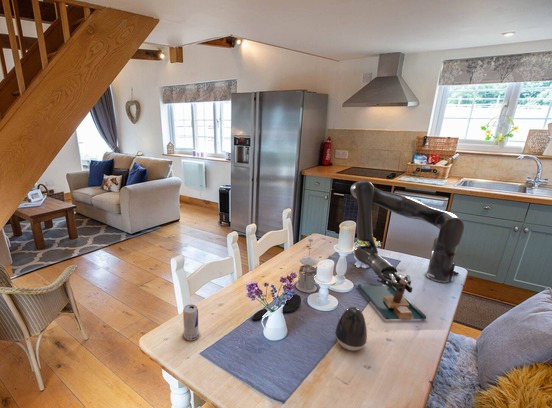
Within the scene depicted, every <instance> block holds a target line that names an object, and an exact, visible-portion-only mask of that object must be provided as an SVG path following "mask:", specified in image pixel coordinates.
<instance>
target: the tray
mask: <svg viewBox="0 0 552 408" xmlns="http://www.w3.org/2000/svg"><path fill="white" fill-rule="evenodd" d="M357 287H358V288H359V290H360V291H361V292H362V293H363V294H364V295H365V296H366V298H367V299H368V300H369V301H370V303H371V304H372V305H373V306H374V308H375V309H376V310H377V311H378V313H380V314H381V316H382V317H383V318H384V320H400V319H399V318H398V317H397V316H396V314H395V313H394V312H393V311H394V310H388V309H387V308H386V306H385V305H384V303H383V301H384V300H383V298H384V296H394V295H395V292H396V288H393V287H392V286H391V287H388V286H386V285H371V286H370V285H366V286H365V285H362V284H361V283H358V284H357ZM403 297H404V298H405V300H406V301H407V302H408V304H409V305H410V306H409V308H408V309H409V310H410V311H411V312H412V316H411V319H410V320H426V319H427V316H426V315H425V314H424V312H422V310H420V309H419V307H417V306H416V305H415V304H414V303H413V302H412V301H411V300H410V299H409V298H408V297H407V296H405V294H403Z"/></svg>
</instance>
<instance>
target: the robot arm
mask: <svg viewBox="0 0 552 408" xmlns="http://www.w3.org/2000/svg"><path fill="white" fill-rule="evenodd" d="M350 194H351V195H352V197H354V199H356V201H357V219H356V239H357V240H358V241H360V242H365V243H366V245H357V246H356V247H355V248H354V250H353V255H354V257H355V259H356V260H357V261H359V262H361V263H362V264H365V265H366V266H368V267H369V268H370V269H371V270H372V271H373V272H374V274H376V275H377V279H376V281H377V282H379V283H380V284H382V285H383V286H388V287H391V286H392V287H393V288H396V289H397V290H398V291H399V292H400V293H402V292H403V287H402V286H401V285H400V284H399V281H400V280H404V281H406V282H407V286H406V289H405V291H407V293H412V292H413V287H412V286H411V284H412V280H411V277H410V275H409V274H406V275H402V274H401V273H399V271H398V270H397V268H396V267H395V266H394V265H393V264H392V263H390V262H389V261H388V260H386V259H385V258H384V257H382V256H381V254H379V252H378V247H377V245H376V242H375V239H374V230H373V204H374V205H377V206H379V207H381V208H383V209H385V210H387V211H389V212H392V213H394V214H396V215H399V216H402V217H404V218H407V219H412V220H418V221H423V222H426V223H427V224H430V225H432V226H434V227H436V228H437V229H439V232H438V236H437V237H435V238H434V239H433V243H432V248H431V253H430V256H429V261H428V265H427V271H426V274H425V276H426V277H427V278H428V279H429V280H432V281H434V282H436V283H442V284H443V283H449V282H452V279H453V276H457V275H459V272H458V271H457V272H456V271H455V267H456V263H455V259H456V258H455V257H456V254H457V250H458V246H459V245H460V244H461V241H462V238H463V235H464V232H465V222H464V220H462V219H461V218H460V217H459V216H457V215H456V214H454V213H452V212H448V211H444V210H440V209H437V208H434V207H430V206H428V205H427V204H425V203H422V202H420V201H418V200H416V199H413V198H411V197H409V196H405V195H402V194H398V193H396V192H391V191H385V190H381V189H379V188H377V187H375V186H374V185H373V184H372V182H371V181H369V180H358V181H356V182H354V183H353V184H352V185H351V187H350Z"/></svg>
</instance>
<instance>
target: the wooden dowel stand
mask: <svg viewBox="0 0 552 408" xmlns="http://www.w3.org/2000/svg"><path fill="white" fill-rule="evenodd" d="M399 284H400V285H401V286H402V287H403V292H402V293H400V292H399V291H398V290H397V289H396V292H395V295H394V296H384V298H383V300H384V301H383V303H384V305H385V306H386V308H387V309H388V310H394V306H406V307H407V308H409V306H410V305H409V304H408V302H407V301H406V300H405V298H404V297H403V295H405V291H406V286H407V282H406V281H404V280H400V281H399Z"/></svg>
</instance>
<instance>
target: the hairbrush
mask: <svg viewBox="0 0 552 408" xmlns="http://www.w3.org/2000/svg"><path fill="white" fill-rule="evenodd" d="M293 294H294V295H293V297H292V298H291V299H290V300H287V301H286V304H285V306H284V307H283V312H282V313H283V314H286V313H287V314H288V313H289V314H290V313H293V312H295V311H296V310H297V309H299V307H300V306H301V304H302V298H301V295H300V294H298V293H296V292H293ZM266 312H267V310H266V309H265V308H263V309H260V310H257V312H255V313H254V314H253V316H252V320H253V322H256V321H260V320H262V319H263V318H262V316H263V315H264V314H265V313H266Z"/></svg>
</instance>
